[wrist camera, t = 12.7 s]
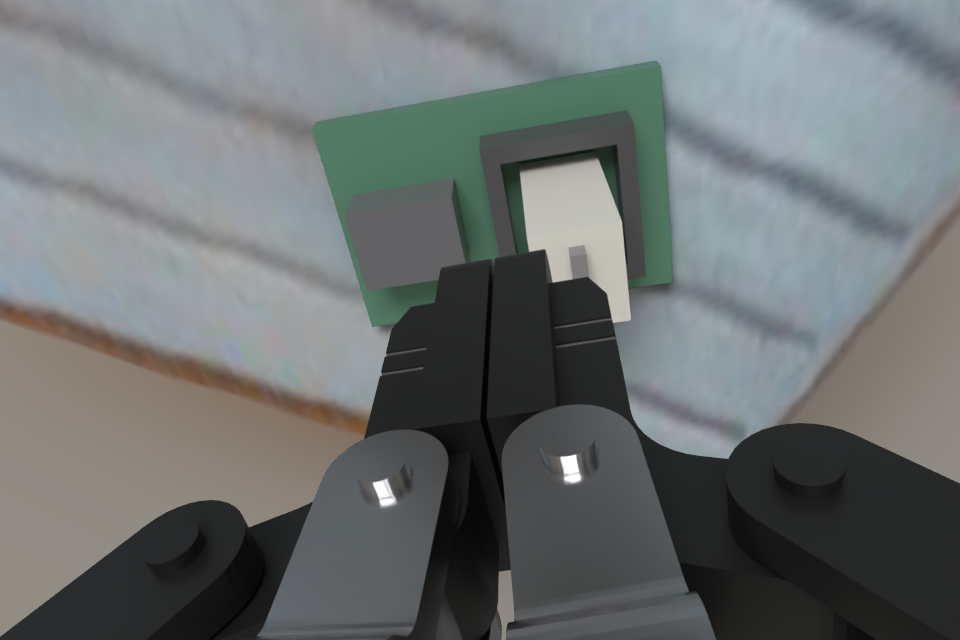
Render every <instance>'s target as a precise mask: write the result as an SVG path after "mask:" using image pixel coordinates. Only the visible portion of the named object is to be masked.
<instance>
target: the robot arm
mask: <svg viewBox="0 0 960 640" xmlns="http://www.w3.org/2000/svg"><path fill="white" fill-rule="evenodd" d="M386 354H387V357H385V359H384V363H383V367H382V370H381V372H382V376H380V378H379V382H378V386H377V390H376V394H375V398H374V402H373V406H372V410H371V414H370V418H369V422H368V426H367V430H366V434H365V438H364V439H363V440H361V441H359V442H357V443H356V444H354V445H353V446H351V447H350V448H348V449H347V450H345V452H343V453H342V454H341V455H339V456H338V457H337V458H336V459H335V460H334V462H333V463H332V464H331V465H330V466H329V468H328V469H327V471H326V472H325V474H324V476H323V479H322V481H321V483H320V486H319V488H318V491H317V493H316V496H315V498H314V501H313V502H311V503H310V504H308V505H305V506H303V507H301V508H299V509H296V510H294V511H291V512H288V513H286V514H283V515H280V516H278V517H275V518H273V519H270V520H267V521H265V522H262V523H260V524H257V525H254V526H252V527H248V525H247V523H246V522H245V520H244V518H243V516H242V514H241V513H240V511H239V510H238V509H237V508H236V507H234V506H233V505H231V504H229V503H226V502H222V501H215V500H207V501H198V502H194V503H189V504H187V505H183V506H180V507H177V508H176V509H173V510H171V511H169V512H166V513H165V514H163V515H162V516H160V517H158V518H156V519H155V520H153V521H152V522H150V523H149V524H147V525H146V526H145V527H143V528H142V529H141V530H140V531H138V532H137V533H135V534H134V535H133V536H132V537H130V538H129V539H128V540H126V541H125V542H124V543H122V544H121V545H120V546H118V547H117V548H116V549H114V550H113V551H112V552H111V553H109V554H108V555H107V556H105V557H104V558H103V559H101V560H100V561H99V562H97V563H96V564H95V565H94V566H92V567H91V568H90V569H88V570H87V571H86V572H84V573H83V574H82V575H80V576H79V577H78V578H77V579H75V580H74V581H73V582H71V583H70V584H69V585H67V586H66V587H65V588H63V589H62V590H61V591H60V592H58V593H57V594H56V595H55V596H53V597H52V598H50V599H49V600H48V601H46V602H45V603H44V604H43V605H41V606H40V607H39V608H37V609H36V610H35V611H33V612H32V613H31V614H30V615H28V616H27V617H26V618H24V619H23V620H22V621H20V622H19V623H18V624H17V625H15V626H14V627H12V628H11V629H10V630H9V631H7V632H6V633H5V634H3V635H2V636H1V637H0V640H501V637H502V625H501V620H500V616H499V613H498V610H497V605H498V577H499V576H498V575H499V571H506V570H511V578H512V588H513V601H514V622H510V623H508V625H507V630H506V640H960V484H959V483H957V482H955V481H953V480H951V479H949V478H946V477H944V476H942V475H940V474H938V473H936V472H934V471H931V470H929V469H927V468H925V467H923V466H921V465H919V464H916V463H914V462H912V461H910V460H908V459H906V458H904V457H902V456H899V455H897V454H895V453H893V452H891V451H889V450H886V449H884V448H882V447H880V446H878V445H875V444H873V443H871V442H869V441H867V440H865V439H863V438H860V437H858V436H856V435H854V434H851V433H849V432H846V431H844V430H841V429H837V428H833V427H830V426H824V425H818V424H805V423H797V424H785V425H779V426H774V427H770V428H767V429H764V430H761V431H759V432H757V433H755V434H752V435H751V436H749V437H748V438H746V439H745V440H743V441H742V442H741V443H740V444H739V445H738V446H737V447H736V448H735V449H734V451H733V452H732V454H731V455H730V457H729V459H722V458H713V457H704V456H696V455H690V454H685V453H681V452H678V451H674V450H671V449H669V448H667V447H664V446H662V445H660V444H658V443H657V442H655V441H653V440H652V439H650V438H649V437H648V436H646V435H645V434H644V433H643V432H642V431H641V430H640V429H639V427H638V426H637V425H636V423H635V421H634V420H633V417H632V414H631V411H630V406H629V401H628V396H627V391H626V386H625V381H624V376H623V371H622V366H621V361H620V356H619V351H618V346H617V341H616V337H615V331H614V326H613V321H612V317H611V311H610V306H609V302H608V297H607V293H606V292H605V291H604V290H602V289H601V288H600V287H599V286H598V285H597V284H596V283H594V282H593V281H592V280H591V279H590V278H589V277H583V278H577V279H571V280H565V281H559V282H552V277H551V271H550V266H549V261H548V257H547V253H546V250H545V249H542V250H537V251H531V252H525V253H520V254H514V255H508V256H503V257H497V258H495V260H494V262H493V260H492V259H486V260H481V261H475V262H469V263H464V264H458V265H452V266H447V267H442V268H441V270H440V275H439V280H438V286H437V292H436V298H435V303H430V304H424V305H418V306H412V307H410V309H409V310H408V311H407V312H406V313H405V314H404V316H403V317H402V318H401V319H400V320H399V321H398V323H397V324H396V325H395V326H394V327H393V328H392V331H391V335H390V339H389V343H388V347H387V351H386Z"/></svg>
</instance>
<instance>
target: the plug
mask: <svg viewBox="0 0 960 640" xmlns="http://www.w3.org/2000/svg"><path fill="white" fill-rule="evenodd" d="M519 170H520V179H521V188H522V197H523V207H524V216H525V225H526V234H527V241H528V247H529V252H531V251H537V250H542V249H545V250H546V253H547V257H548V261H549V266H550V271H551V277H552V282H559V281H565V280H571V279H577V278H583V277H589V278H590V279H591V280H592V281H593V282H594V283H596V284H597V285H598V286H599V287H600V288H601V289H602V290H604V291H605V292H606V293H607V297H608V302H609V306H610V311H611V317H612V321H613V323H617V322H623V321H630V320H631V315H630V304H629V293H628V282H627V271H626V261H625V250H624V239H623V228H622V221H621V218H620V215H619V213H618V210H617V207H616V205H615V202H614V199H613V197H612V194H611V191H610V189H609V186H608V183H607V181H606V178H605V175H604V173H603V170H602V167H601V165H600V162H599V159H598V157H597V154H596V151H594V152H588V153H582V154H577V155H571V156H565V157H559V158H553V159H548V160H542V161H536V162H530V163H525V164H519Z"/></svg>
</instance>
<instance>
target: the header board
mask: <svg viewBox="0 0 960 640" xmlns="http://www.w3.org/2000/svg"><path fill="white" fill-rule="evenodd" d="M312 130H313V133H314V136H315V140H316V143H317V146H318V149H319V153H320V156H321V159H322V163H323V166H324V169H325V173H326V176H327V179H328V182H329V186H330V189H331V192H332V196H333V199H334V202H335V205H336V209H337V212H338V215H339V219H340V222H341V225H342V229H343V232H344V235H345V238H346V242H347V245H348V248H349V252H350V255H351V258H352V261H353V265H354V268H355V271H356V275H357V278H358V281H359V284H360V288H361V291H362V294H363V298H364V301H365V304H366V308H367V311H368V314H369V317H370V321H371V324H372V327H374V326H381V325H388V324H394V323H398V321H399V320H400V319H401V318H402V317H403V316H404V314H405V313H406V312H407V311H408V310H409V309H410V307H412V306H418V305H424V304H430V303H435V298H436V292H437V286H438V280H439V275H440V270H441V268H442V267H447V266H452V265H458V264H464V263H469V262H475V261H481V260H486V259H492V260H493V262H494V260H495V258H497V257H503V256H508V255H514V254H520V253H525V252H529V247H528V241H527V234H526V225H525V216H524V207H523V197H522V188H521V179H520V170H519V164H525V163H530V162H536V161H542V160H548V159H553V158H559V157H565V156H571V155H577V154H582V153H588V152H594V151H596V154H597V157H598V159H599V162H600V165H601V167H602V170H603V173H604V175H605V178H606V181H607V183H608V186H609V189H610V191H611V194H612V197H613V199H614V202H615V205H616V207H617V210H618V213H619V215H620V218H621V221H622V228H623V239H624V250H625V261H626V271H627V282H628V289H630V288H637V287H643V286H650V285H657V284H664V283H670V282H673V274H672V256H671V239H670V221H669V203H668V186H667V168H666V151H665V133H664V115H663V98H662V80H661V66H660V64H659V63H658V62H657V61H652V62H646V63H641V64H635V65H630V66H624V67H618V68H613V69H607V70H602V71H596V72H591V73H585V74H580V75H574V76H569V77H563V78H558V79H552V80H547V81H541V82H536V83H530V84H524V85H519V86H513V87H508V88H502V89H497V90H491V91H486V92H480V93H475V94H469V95H464V96H458V97H453V98H447V99H441V100H436V101H430V102H425V103H419V104H414V105H408V106H403V107H397V108H392V109H386V110H381V111H375V112H370V113H364V114H358V115H353V116H347V117H342V118H336V119H331V120H325V121H320V122H316V124H315V125H314V127H313V128H312Z"/></svg>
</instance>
